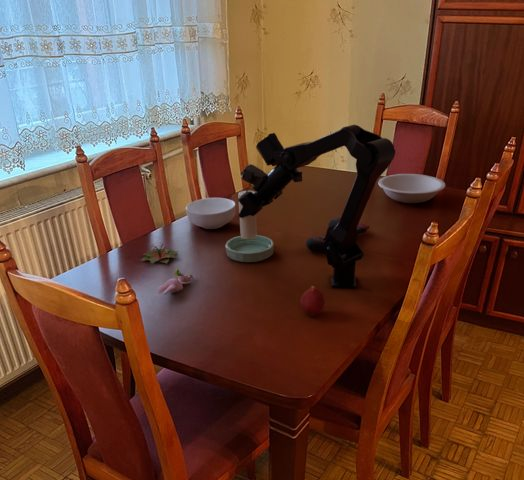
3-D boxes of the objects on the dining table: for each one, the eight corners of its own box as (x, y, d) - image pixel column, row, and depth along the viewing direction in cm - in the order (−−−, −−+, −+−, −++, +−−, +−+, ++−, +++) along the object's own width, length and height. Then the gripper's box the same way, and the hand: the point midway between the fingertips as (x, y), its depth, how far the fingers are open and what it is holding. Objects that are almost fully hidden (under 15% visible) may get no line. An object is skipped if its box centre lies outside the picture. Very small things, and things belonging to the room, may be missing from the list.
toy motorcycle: (302, 255, 167) (351, 257, 159) (300, 239, 164) (350, 240, 156) (334, 230, 185) (379, 230, 177) (333, 215, 183) (378, 215, 175)
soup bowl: (386, 187, 217) (388, 171, 213) (447, 194, 208) (450, 177, 204) (368, 206, 199) (370, 188, 195) (435, 214, 190) (438, 196, 186)
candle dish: (271, 263, 159) (271, 253, 157) (223, 263, 161) (222, 252, 159) (275, 244, 171) (275, 235, 169) (230, 244, 173) (229, 234, 171)
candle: (256, 239, 160) (254, 192, 152) (239, 239, 161) (236, 192, 153) (258, 233, 164) (256, 187, 156) (241, 233, 165) (239, 187, 157)
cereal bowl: (207, 213, 197) (205, 194, 193) (245, 221, 189) (244, 201, 185) (177, 229, 185) (175, 208, 181) (217, 237, 177) (216, 216, 173)
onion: (309, 306, 137) (310, 278, 133) (328, 313, 134) (330, 284, 130) (296, 316, 133) (296, 287, 129) (315, 323, 130) (316, 293, 126)
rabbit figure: (178, 282, 154) (151, 298, 141) (177, 261, 151) (149, 276, 138) (198, 285, 152) (172, 301, 139) (198, 264, 149) (171, 279, 136)
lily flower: (186, 252, 168) (184, 238, 165) (169, 268, 158) (167, 253, 156) (151, 248, 171) (149, 234, 169) (133, 263, 162) (130, 249, 159)
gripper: (272, 148, 155) (239, 183, 165) (243, 165, 141) (209, 202, 151) (297, 178, 156) (263, 211, 167) (271, 198, 142) (236, 232, 153)
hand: (243, 213), depth 159 cm, fingers closed on candle, 5 cm apart
